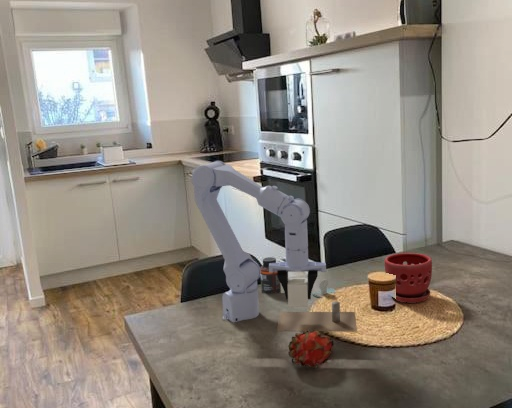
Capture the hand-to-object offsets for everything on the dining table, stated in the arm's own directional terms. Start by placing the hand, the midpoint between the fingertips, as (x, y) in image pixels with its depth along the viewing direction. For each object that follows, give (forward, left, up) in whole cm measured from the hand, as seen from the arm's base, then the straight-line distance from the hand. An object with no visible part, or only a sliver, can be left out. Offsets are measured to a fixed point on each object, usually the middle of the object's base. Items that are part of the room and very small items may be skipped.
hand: (298, 298), depth 138 cm
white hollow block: (0, 0, -1) cm, 1 cm away
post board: (+4, -3, -8) cm, 9 cm away
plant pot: (+37, -2, -8) cm, 38 cm away
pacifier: (+17, +13, -8) cm, 23 cm away
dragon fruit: (-8, -18, -8) cm, 21 cm away
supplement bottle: (+6, +24, -8) cm, 26 cm away
